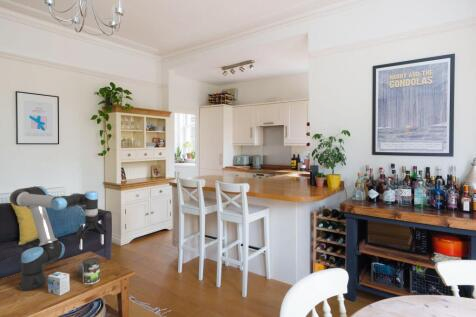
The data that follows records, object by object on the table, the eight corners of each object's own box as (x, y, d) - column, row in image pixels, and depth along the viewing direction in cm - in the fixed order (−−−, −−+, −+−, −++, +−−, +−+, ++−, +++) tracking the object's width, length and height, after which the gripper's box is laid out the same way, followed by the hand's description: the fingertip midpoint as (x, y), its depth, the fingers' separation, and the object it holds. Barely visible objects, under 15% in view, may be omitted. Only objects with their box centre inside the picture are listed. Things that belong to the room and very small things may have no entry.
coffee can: (102, 280, 192) (102, 259, 191) (87, 286, 184) (86, 264, 183) (95, 275, 198) (94, 256, 198) (80, 281, 190) (79, 260, 189)
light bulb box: (47, 292, 176) (47, 275, 175) (58, 287, 182) (57, 271, 182) (60, 295, 172) (59, 278, 172) (70, 290, 178) (69, 273, 178)
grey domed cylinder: (77, 276, 197) (76, 265, 197) (81, 273, 202) (80, 262, 202) (84, 276, 197) (83, 265, 197) (88, 273, 202) (87, 262, 202)
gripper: (73, 219, 175) (73, 253, 176) (112, 212, 194) (112, 243, 195) (68, 217, 180) (68, 249, 181) (107, 210, 199) (107, 240, 200)
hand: (91, 246), depth 188 cm, fingers open, 13 cm apart
